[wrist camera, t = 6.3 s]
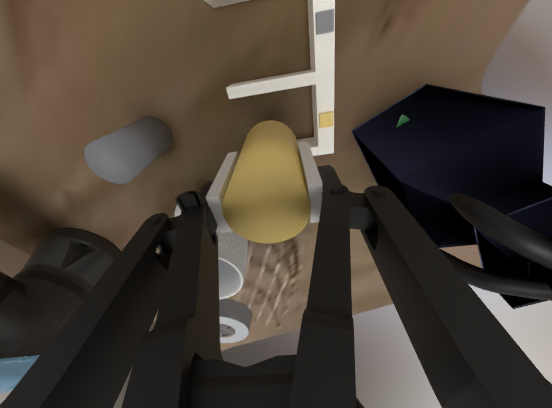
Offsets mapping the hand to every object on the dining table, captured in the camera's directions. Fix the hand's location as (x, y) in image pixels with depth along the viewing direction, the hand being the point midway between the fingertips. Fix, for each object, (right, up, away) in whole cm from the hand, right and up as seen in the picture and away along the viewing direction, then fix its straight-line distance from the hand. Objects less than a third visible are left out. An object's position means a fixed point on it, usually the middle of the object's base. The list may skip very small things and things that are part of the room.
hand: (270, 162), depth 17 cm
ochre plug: (0, +2, +3) cm, 3 cm away
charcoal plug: (-17, +7, +13) cm, 23 cm away
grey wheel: (-14, -35, +43) cm, 57 cm away
